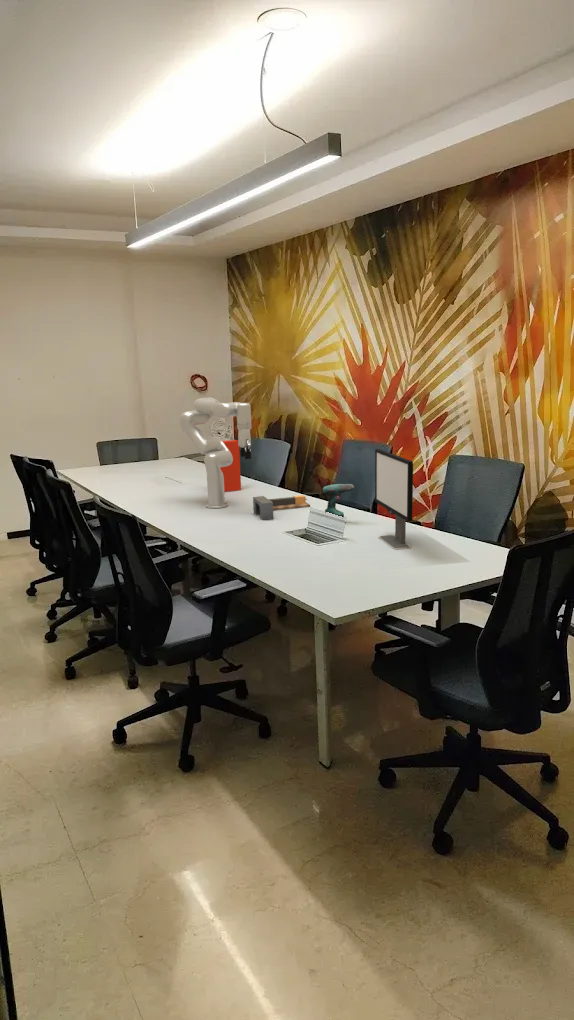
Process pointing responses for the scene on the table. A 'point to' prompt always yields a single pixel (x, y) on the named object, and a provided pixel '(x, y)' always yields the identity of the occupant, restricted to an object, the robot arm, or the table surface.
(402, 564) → the table surface
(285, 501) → the grey and orange bar
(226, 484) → the file binder
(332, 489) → the power drill
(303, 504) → the pad
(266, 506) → the grey slotted block
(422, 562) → the table surface
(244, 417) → the robot arm
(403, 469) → the computer monitor
